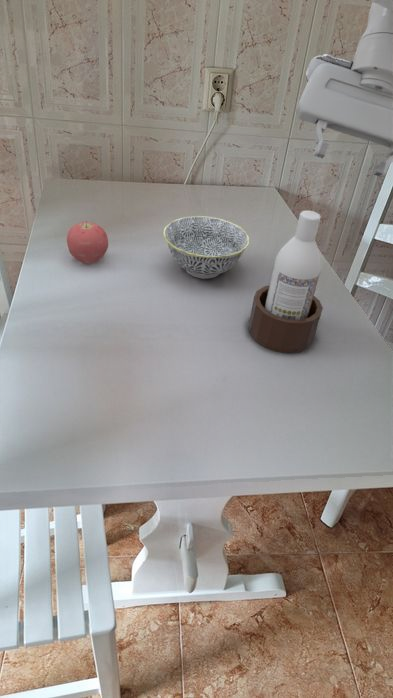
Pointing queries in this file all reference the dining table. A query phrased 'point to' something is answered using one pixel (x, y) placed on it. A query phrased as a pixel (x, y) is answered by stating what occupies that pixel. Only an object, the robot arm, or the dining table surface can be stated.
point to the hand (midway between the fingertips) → (348, 165)
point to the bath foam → (296, 271)
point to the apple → (87, 242)
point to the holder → (282, 326)
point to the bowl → (205, 244)
